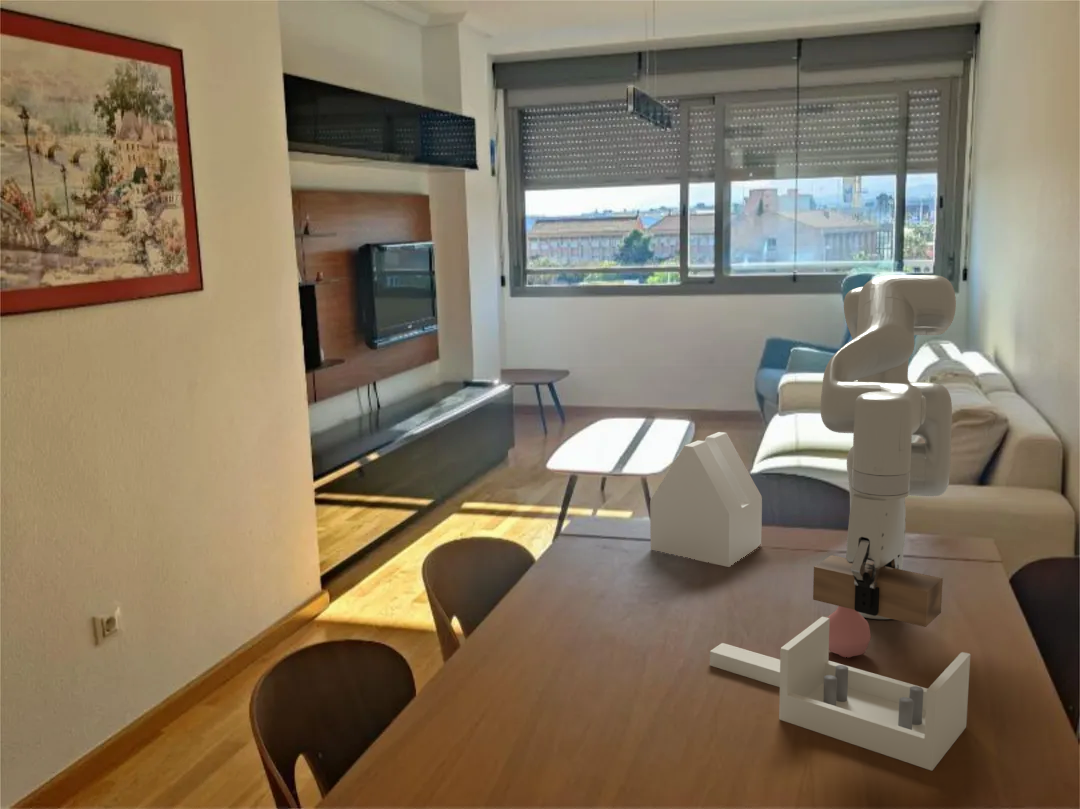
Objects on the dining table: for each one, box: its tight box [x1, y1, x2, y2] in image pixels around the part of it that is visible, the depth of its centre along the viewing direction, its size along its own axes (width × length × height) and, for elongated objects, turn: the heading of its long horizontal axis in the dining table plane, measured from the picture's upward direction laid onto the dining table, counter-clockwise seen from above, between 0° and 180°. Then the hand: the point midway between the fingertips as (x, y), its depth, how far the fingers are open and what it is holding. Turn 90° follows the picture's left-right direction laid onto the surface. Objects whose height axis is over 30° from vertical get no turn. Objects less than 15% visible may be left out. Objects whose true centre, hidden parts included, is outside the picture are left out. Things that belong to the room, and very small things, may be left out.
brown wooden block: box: [812, 554, 944, 628], centre depth 137 cm, size 6×16×5 cm, turn 50°
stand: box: [778, 616, 971, 771], centre depth 139 cm, size 14×22×11 cm, turn 50°
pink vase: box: [826, 606, 872, 658], centre depth 161 cm, size 8×8×12 cm
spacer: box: [709, 642, 780, 688], centre depth 157 cm, size 4×14×2 cm, turn 50°
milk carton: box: [649, 431, 763, 568], centre depth 213 cm, size 19×15×25 cm
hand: (875, 604), depth 137 cm, fingers closed on brown wooden block, 6 cm apart
